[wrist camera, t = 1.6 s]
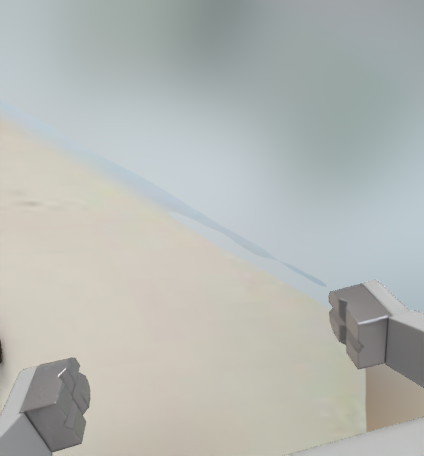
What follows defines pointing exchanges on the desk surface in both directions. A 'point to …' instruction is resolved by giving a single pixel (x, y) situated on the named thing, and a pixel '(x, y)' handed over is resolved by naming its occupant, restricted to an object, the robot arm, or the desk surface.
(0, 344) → the carrying case
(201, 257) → the desk surface
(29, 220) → the desk surface
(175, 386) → the desk surface
